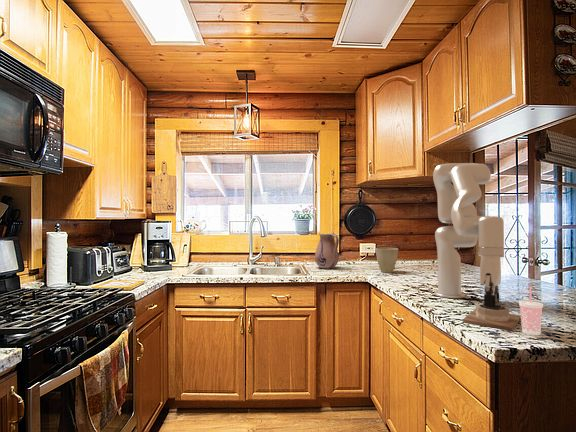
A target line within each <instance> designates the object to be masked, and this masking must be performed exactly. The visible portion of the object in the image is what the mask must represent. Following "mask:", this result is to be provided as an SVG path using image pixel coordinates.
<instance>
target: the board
mask: <svg viewBox="0 0 576 432" xmlns="http://www.w3.org/2000/svg"><path fill="white" fill-rule="evenodd" d="M520 321H521V314H514V313H510V308H509V307H507V306H504V305H501V308H500V309H499V310H492V309H486V308H485V307H484V306H483V303H477V304H476V305H475V309H474V310H472V311H471V312H470V313H469V314H467V315H466V316H465V317H463V319H462V323H464V324H465V323H466V324H471V325H476V326H482V327H488V328H492V329H493V328H494V329H500V330H503V331H504V330H505V331H511V332H513V331H514V330H515V328H516V326H517V325H518V323H519V322H520Z"/></svg>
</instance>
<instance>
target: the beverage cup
mask: <svg viewBox="0 0 576 432" xmlns="http://www.w3.org/2000/svg"><path fill="white" fill-rule="evenodd" d="M532 296H533V295H532V286H530V285H529V300H519V301H518V305H519V313H520V315H521V319H520V323H521V332H523V333H524V334H527V335H531V336H540V335H541V334H542V318H543V316H542V315H543V308H544V304H543V303H542V302H539V301H534V300H532V299H533V298H532Z"/></svg>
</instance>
